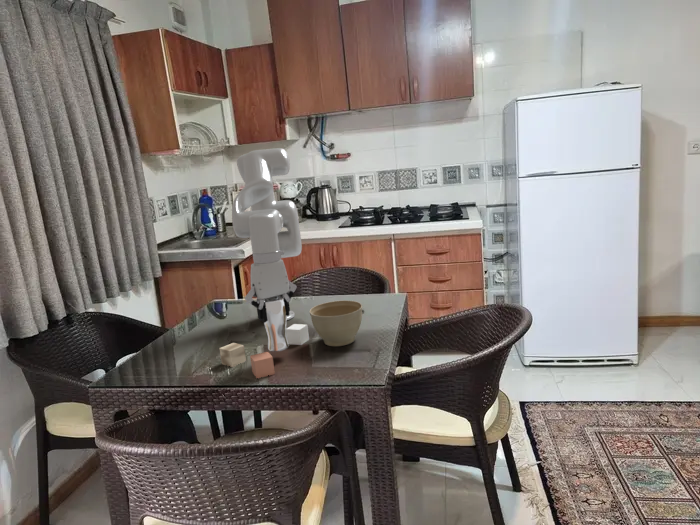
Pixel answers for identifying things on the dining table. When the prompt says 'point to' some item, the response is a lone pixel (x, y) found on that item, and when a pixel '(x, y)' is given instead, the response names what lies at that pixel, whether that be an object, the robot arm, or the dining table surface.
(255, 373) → the rust block
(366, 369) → the dining table surface
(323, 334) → the planter bowl
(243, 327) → the dining table surface
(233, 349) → the beech block
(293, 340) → the cream block
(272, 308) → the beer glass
